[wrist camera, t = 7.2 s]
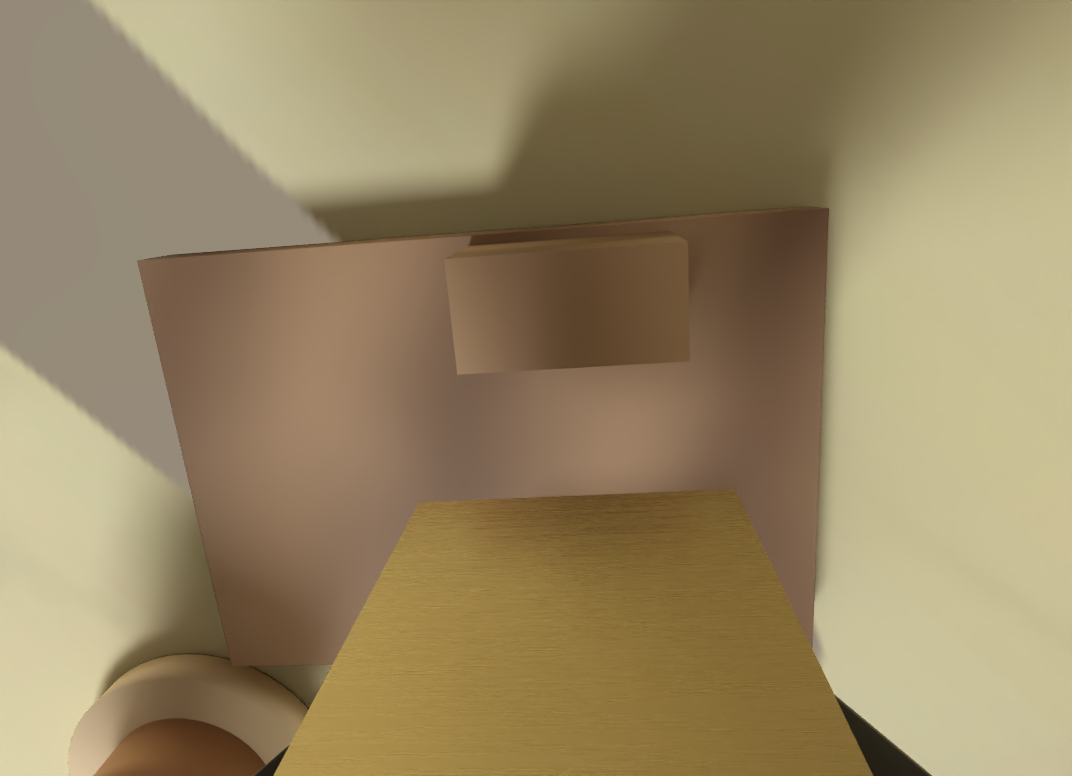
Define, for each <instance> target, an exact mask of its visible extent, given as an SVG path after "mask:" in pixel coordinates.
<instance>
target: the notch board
mask: <svg viewBox="0 0 1072 776" xmlns="http://www.w3.org/2000/svg"><path fill="white" fill-rule="evenodd" d="M828 216H829V209H828V208H819V207H810V206H809V207H796V208H783V209H770V210H756V211H743V212H730V213H717V214H704V215H691V216H677V217H664V218H651V219H638V220H625V221H611V222H598V223H585V224H572V225H559V226H546V227H532V228H519V229H506V230H493V231H480V232H467V233H453V234H440V235H427V236H414V237H401V238H387V239H374V240H361V241H348V242H335V243H322V244H309V245H295V246H282V247H269V248H256V249H243V250H230V251H216V252H203V253H191V254H177V255H167V256H161V257H156V258H150V259H144V260H139V261H137V262H138V266H139V271H140V275H141V279H142V283H143V288H144V292H145V296H146V301H147V305H148V309H149V314H150V317H151V322H152V326H153V331H154V335H155V339H156V343H157V348H158V352H159V356H160V361H161V365H162V369H163V373H164V378H165V382H166V386H167V391H168V395H169V399H170V403H171V408H172V412H173V416H174V421H175V425H176V429H177V433H178V438H179V442H180V446H181V450H182V455H183V459H184V463H185V467H186V472H187V476H188V480H189V485H190V488H191V493H192V498H193V502H194V506H195V510H196V515H197V519H198V523H199V527H200V532H201V536H202V540H203V545H204V549H205V553H206V557H207V562H208V566H209V570H210V575H211V579H212V583H213V587H214V592H215V596H216V600H217V604H218V609H219V613H220V617H221V622H222V626H223V630H224V634H225V639H226V643H227V647H228V651H229V656H230V660H231V664H232V666H281V665H330V664H333V663H334V661H335V659H336V657H337V655H338V654H339V652H340V650H341V648H342V646H343V644H344V642H345V640H346V638H347V637H348V635H349V633H350V631H351V629H352V627H353V625H354V623H355V622H356V620H357V618H358V616H359V614H360V612H361V610H362V608H363V607H364V605H365V603H366V601H367V599H368V597H369V595H370V593H371V592H372V590H373V588H374V586H375V584H376V582H377V580H378V578H379V577H380V575H381V573H382V571H383V569H384V567H385V565H386V563H387V562H388V560H389V558H390V556H391V554H392V552H393V550H394V548H395V546H396V545H397V543H398V541H399V539H400V537H401V535H402V533H403V531H404V530H405V528H406V526H407V524H408V522H409V520H410V518H411V516H412V515H413V513H414V511H415V509H416V507H417V505H418V503H419V502H434V501H458V500H482V499H506V498H530V497H554V496H578V495H602V494H626V493H650V492H674V491H698V490H722V489H736V491H737V493H738V496H739V498H740V500H741V502H742V504H743V506H744V508H745V510H746V512H747V514H748V516H749V518H750V521H751V523H752V525H753V527H754V529H755V531H756V533H757V535H758V537H759V539H760V541H761V543H762V545H763V548H764V550H765V552H766V554H767V556H768V558H769V560H770V562H771V564H772V566H773V568H774V570H775V573H776V575H777V577H778V579H779V581H780V583H781V585H782V587H783V589H784V591H785V593H786V595H787V598H788V600H789V602H790V604H791V606H792V608H793V610H794V612H795V614H796V616H797V618H798V620H799V622H800V625H801V627H802V629H803V631H804V633H805V635H806V637H807V639H808V641H809V643H810V645H811V647H812V645H813V618H814V592H815V565H816V538H817V511H818V484H819V457H820V431H821V404H822V377H823V350H824V323H825V296H826V269H827V243H828Z"/></svg>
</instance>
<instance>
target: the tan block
mask: <svg viewBox="0 0 1072 776" xmlns="http://www.w3.org/2000/svg"><path fill="white" fill-rule="evenodd" d="M274 776H873V774H872V772H871V770H870V768H869V766H868V764H867V762H866V760H865V758H864V756H863V754H862V752H861V749H860V747H859V745H858V743H857V741H856V739H855V737H854V735H853V733H852V731H851V729H850V727H849V724H848V722H847V720H846V718H845V716H844V714H843V712H842V710H841V708H840V706H839V704H838V702H837V699H836V697H835V695H834V693H833V691H832V689H831V687H830V685H829V683H828V681H827V679H826V677H825V675H824V672H823V670H822V668H821V666H820V664H819V662H818V660H817V658H816V656H815V654H814V652H813V650H812V647H811V645H810V643H809V641H808V639H807V637H806V635H805V633H804V631H803V629H802V627H801V625H800V622H799V620H798V618H797V616H796V614H795V612H794V610H793V608H792V606H791V604H790V602H789V600H788V598H787V595H786V593H785V591H784V589H783V587H782V585H781V583H780V581H779V579H778V577H777V575H776V573H775V570H774V568H773V566H772V564H771V562H770V560H769V558H768V556H767V554H766V552H765V550H764V548H763V545H762V543H761V541H760V539H759V537H758V535H757V533H756V531H755V529H754V527H753V525H752V523H751V521H750V518H749V516H748V514H747V512H746V510H745V508H744V506H743V504H742V502H741V500H740V498H739V496H738V493H737V491H736V489H722V490H698V491H674V492H650V493H626V494H602V495H578V496H554V497H530V498H506V499H482V500H458V501H434V502H419V503H418V505H417V507H416V509H415V511H414V513H413V515H412V516H411V518H410V520H409V522H408V524H407V526H406V528H405V530H404V531H403V533H402V535H401V537H400V539H399V541H398V543H397V545H396V546H395V548H394V550H393V552H392V554H391V556H390V558H389V560H388V562H387V563H386V565H385V567H384V569H383V571H382V573H381V575H380V577H379V578H378V580H377V582H376V584H375V586H374V588H373V590H372V592H371V593H370V595H369V597H368V599H367V601H366V603H365V605H364V607H363V608H362V610H361V612H360V614H359V616H358V618H357V620H356V622H355V623H354V625H353V627H352V629H351V631H350V633H349V635H348V637H347V638H346V640H345V642H344V644H343V646H342V648H341V650H340V652H339V654H338V655H337V657H336V659H335V661H334V663H333V665H332V667H331V669H330V670H329V672H328V674H327V676H326V678H325V680H324V682H323V684H322V685H321V687H320V689H319V691H318V693H317V695H316V697H315V699H314V700H313V702H312V704H311V706H310V708H309V710H308V712H307V714H306V715H305V717H304V719H303V721H302V723H301V725H300V727H299V729H298V731H297V732H296V734H295V736H294V738H293V740H292V742H291V744H290V746H289V747H288V749H287V751H286V753H285V755H284V757H283V759H282V761H281V762H280V764H279V766H278V768H277V770H276V772H275V774H274Z"/></svg>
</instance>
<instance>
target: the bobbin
mask: <svg viewBox="0 0 1072 776" xmlns="http://www.w3.org/2000/svg"><path fill="white" fill-rule="evenodd" d="M307 712H308V708H307V707H306V706H305V705H304V704H303V703H302V702H301V701H300V700H299V699H298V698H297V697H296V696H295V695H294V694H293V693H291V692H290V691H289V690H288V689H287V688H285V687H284V686H283V685H282V684H280V683H278V682H277V681H275V680H274V679H272V678H271V677H269V676H268V675H266V674H264V673H262V672H260V671H258V670H256V669H254V668H252V667H249V666H232V664H231V660H228V659H224V658H221V657H215V656H208V655H197V654H182V655H170V656H165V657H161V658H156V659H153V660H150V661H147V662H145V663H142V664H140V665H138V666H136V667H134V668H132V669H130V670H129V671H127V672H126V673H125V674H123V675H122V676H121V677H119V678H118V679H117V680H116V681H115V682H114V683H113V684H112V685H111V687H110V688H109V689H108V690H107V691H106V692H105V693H104V694H103V695H102V696H101V697H100V698H99V699H98V700H97V701H96V702H95V703H94V704H93V706H92V707H91V708H90V709H89V710H88V711H87V712H86V713H85V714H84V715H83V717H82V718H81V720H80V721H79V723H78V724H77V726H76V729H75V731H74V733H73V736H72V739H71V743H70V747H69V756H68V767H69V776H253V775H254V774H256V773H257V772H258V771H259V770H260V769H261V768H263V767H264V766H265V765H266V764H267V763H268V762H270V761H271V760H272V759H273V758H274V757H276V756H277V755H278V754H279V753H280V752H281V751H283V750H284V749H285V748H286V747H287V746H288V745H290V744H291V742H292V740H293V738H294V736H295V734H296V732H297V731H298V729H299V727H300V725H301V723H302V721H303V719H304V717H305V715H306V714H307Z"/></svg>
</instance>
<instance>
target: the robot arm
mask: <svg viewBox="0 0 1072 776" xmlns="http://www.w3.org/2000/svg"><path fill="white" fill-rule="evenodd" d="M835 697H836V699H837V702H838V704H839V706H840V708H841V710H842V712H843V714H844V716H845V718H846V720H847V722H848V724H849V727H850V729H851V731H852V733H853V735H854V737H855V739H856V741H857V743H858V745H859V747H860V749H861V752H862V754H863V756H864V758H865V760H866V762H867V764H868V766H869V768H870V770H871V772H872V774H873V776H932V775H931V774H929V773H928V772H927V771H926V770H925V769H923V768H922V767H921V766H920V765H919V764H917V763H916V762H915V761H914V760H913V759H911V758H910V757H909V756H908V755H907V754H905V753H904V752H903V751H902V750H901V749H899V748H898V747H897V746H896V745H895V744H893V743H892V742H891V741H890V740H889V739H887V738H886V737H885V736H884V735H883V734H881V733H880V732H879V731H878V730H877V729H875V728H874V727H873V726H872V725H871V724H869V723H868V722H867V721H866V720H865V719H863V718H862V717H861V716H860V715H858V714H857V713H856V712H855V711H854V710H852V709H851V708H850V707H849V706H848V705H846V704H845V703H844V702H843V701H842V700H840V699H839V698H838V697H837V696H836V695H835ZM289 746H290V745H288V746H287V747H286V748H285V749H284V750H283V751H281V752H280V753H279V754H278V755H277V756H276V757H274V758H273V759H272V760H271V761H270V762H268V763H267V764H266V765H265V766H264V767H263V768H261V769H260V770H259V771H258V772H257V773H256V774H254V775H253V776H274V774H275V772H276V770H277V768H278V766H279V764H280V762H281V761H282V759H283V757H284V755H285V753H286V751H287V749H288V747H289Z"/></svg>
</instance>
